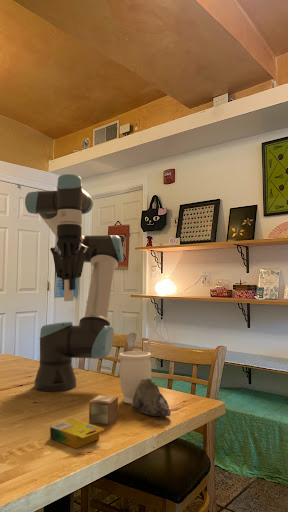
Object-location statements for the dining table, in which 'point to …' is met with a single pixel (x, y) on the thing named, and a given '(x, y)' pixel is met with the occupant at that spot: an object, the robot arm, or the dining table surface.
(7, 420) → the dining table surface
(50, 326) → the robot arm
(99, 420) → the brown cube
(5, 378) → the dining table surface
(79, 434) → the crayon box
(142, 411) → the mineral rock
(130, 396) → the jar
